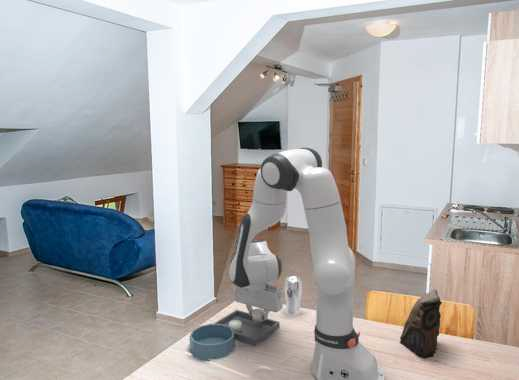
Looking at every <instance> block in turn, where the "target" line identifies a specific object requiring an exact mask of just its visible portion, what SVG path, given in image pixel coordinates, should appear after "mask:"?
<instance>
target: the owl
mask: <svg viewBox="0 0 519 380" xmlns="http://www.w3.org/2000/svg"><path fill="white" fill-rule="evenodd" d="M440 298H441V297H440V296H439V295H438V290H437V289H436V288H435V289H434V290H431V291H430V292H427V293H425V294H423V295H422V296H421V297H420V298H418V300H417V301H416V302H415V303H414V304H413V306H412V308H411V310H410V311H409V314H408V318H407V319H406V321H405V323H404V325H403V330H402V333H401V335H400V337H399V339H400V341H399V344H401V345H402V346H404V347H405V348H406V349H408V350H409V351H410V352H411V353H413V354H414V355H415V356H416V357H418V358H421V359H424V360H425V359H426V360H427V359H430V358H433V357H435V354H436V353H437V352H436V351H437V350H438V348H437V346H438V336H439V335H440V329H441V315H442V314H441V312H440V310H441V309H440V308H441V305H442V303H443V302H442V300H441V299H440Z"/></svg>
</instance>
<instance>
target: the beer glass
mask: <svg viewBox="0 0 519 380" xmlns="http://www.w3.org/2000/svg"><path fill="white" fill-rule="evenodd" d="M302 283H303V282H302V278H301V277H300V276H295V275H294V276H292V275H290V276H287V277H285V278H284V297H285V303H286V310H285V314H286V315H287V316H291V317H297V316H300V315H301V308H300V307H301V306H300V305H301V299H302V294H303V285H302Z"/></svg>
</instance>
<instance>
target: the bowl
mask: <svg viewBox="0 0 519 380" xmlns="http://www.w3.org/2000/svg"><path fill="white" fill-rule="evenodd" d="M235 346H236V339H235V332H234V330H233V329H232V328H231V327H229V326H226V325H223V324H214V323H207V324H203V325H199V326H198V327H196V328H194V329H192V330H191V333H190V334H189V350H190V351H191V355H192V356H193V358H195V359H197V360H200V361H202V362H203V361H204V362H208V361H209V362H210V361H211V359H213V360H215V359H219V358H220V359H221V358H223V357H226V356H228V355H229V354H231V353H233V351H234V349H235Z"/></svg>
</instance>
